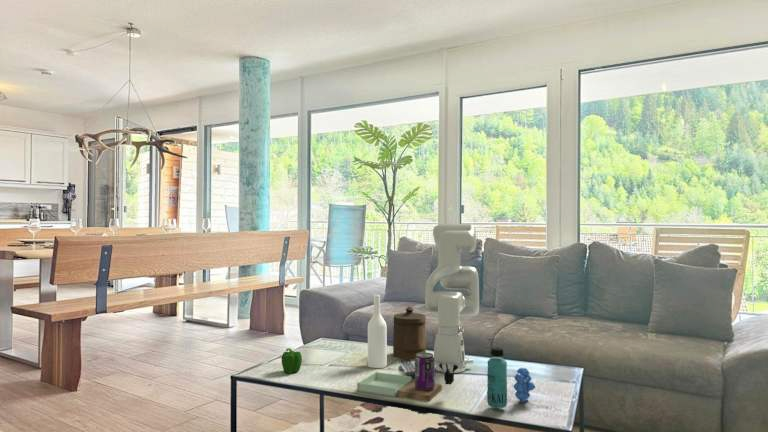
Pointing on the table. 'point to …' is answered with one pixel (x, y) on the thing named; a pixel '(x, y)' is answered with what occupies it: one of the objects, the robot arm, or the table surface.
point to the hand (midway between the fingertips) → (449, 383)
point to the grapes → (523, 384)
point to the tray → (383, 384)
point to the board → (418, 392)
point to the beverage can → (424, 371)
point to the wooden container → (409, 334)
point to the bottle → (377, 338)
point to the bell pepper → (291, 361)
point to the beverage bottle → (497, 380)
